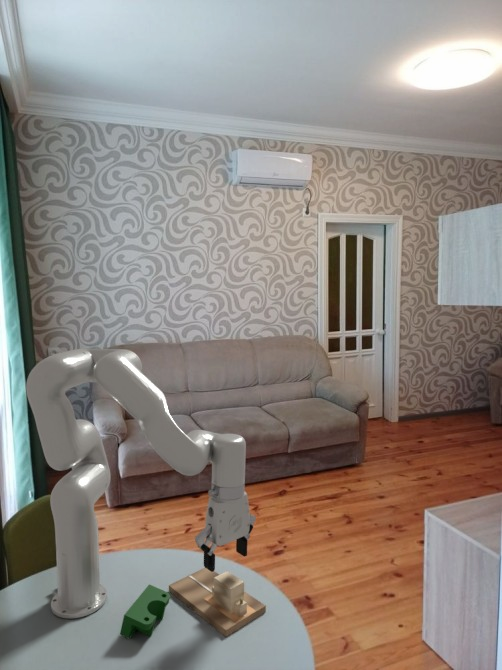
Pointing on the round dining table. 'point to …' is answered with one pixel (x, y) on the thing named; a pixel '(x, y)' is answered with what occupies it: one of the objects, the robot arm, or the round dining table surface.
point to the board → (200, 600)
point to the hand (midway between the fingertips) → (225, 561)
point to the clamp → (145, 612)
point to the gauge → (229, 593)
